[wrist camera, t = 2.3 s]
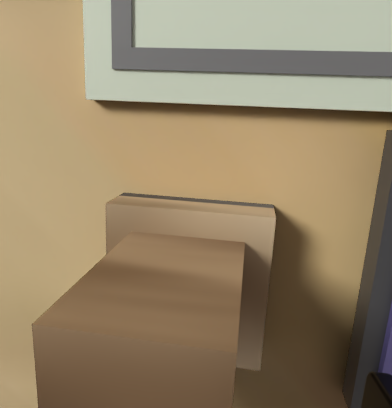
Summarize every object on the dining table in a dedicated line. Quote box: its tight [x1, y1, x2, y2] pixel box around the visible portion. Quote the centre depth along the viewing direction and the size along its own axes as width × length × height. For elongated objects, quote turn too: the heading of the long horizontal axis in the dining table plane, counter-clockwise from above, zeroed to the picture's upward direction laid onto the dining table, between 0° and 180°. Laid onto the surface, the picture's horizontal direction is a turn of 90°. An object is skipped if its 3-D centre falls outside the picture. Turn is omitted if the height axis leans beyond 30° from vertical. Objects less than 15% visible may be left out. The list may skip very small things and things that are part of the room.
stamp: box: [32, 193, 276, 408], centre depth 9 cm, size 5×5×7 cm
